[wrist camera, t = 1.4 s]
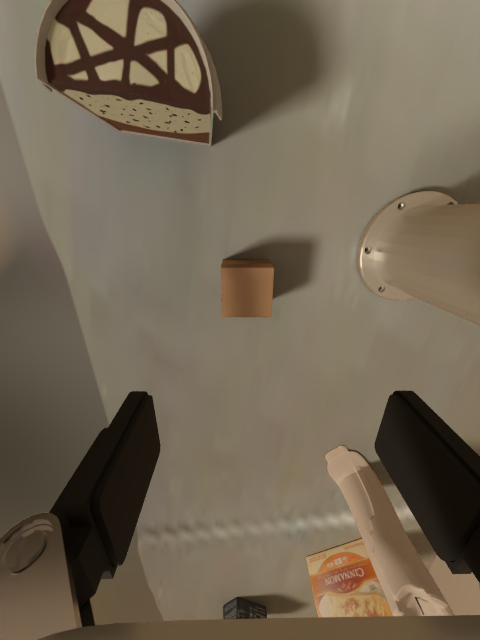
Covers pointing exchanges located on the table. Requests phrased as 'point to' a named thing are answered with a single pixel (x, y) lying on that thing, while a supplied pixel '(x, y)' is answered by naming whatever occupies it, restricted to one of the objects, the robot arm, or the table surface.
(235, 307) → the walnut block
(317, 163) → the table surface
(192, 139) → the food container
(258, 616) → the box
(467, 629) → the robot arm
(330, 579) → the coffeecake box
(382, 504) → the candle
